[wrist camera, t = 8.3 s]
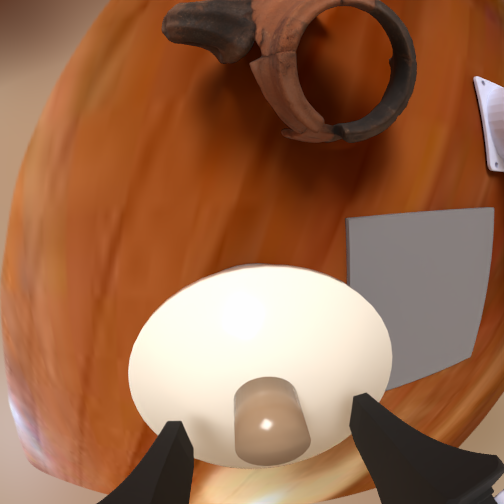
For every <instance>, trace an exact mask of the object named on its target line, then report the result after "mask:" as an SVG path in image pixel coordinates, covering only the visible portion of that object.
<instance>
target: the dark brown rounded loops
mask: <svg viewBox="0 0 504 504" xmlns="http://www.w3.org/2000/svg"><path fill="white" fill-rule="evenodd" d="M337 6H352V7H355V8H358V9H360V10H363V11H366V12H368V13H369V14H371V15H372V16H373V17H374V18H375V19H376V20H377V21H378V22H379V23H380V24H381V25H382V27H383V28H384V30H385V32H386V33H387V35H388V37H389V39H390V42H391V44H392V48H393V56H392V58H390V59H389V64H390V67H391V75H390V82H389V84H388V86H387V89H386V91H385V93H384V96H383V98H382V100H381V102H380V103H379V104H378V105H377V106H376V107H375V108H374V109H373V110H372V111H371V112H370V113H369V114H368V115H366V116H365V117H363V118H362V119H360V120H357V121H353V122H348V123H340V124H336V125H333V126H332V125H328V124H324V118H323V117H322V116H321V115H320V114H319V113H317V111H316V110H315V109H314V108H313V107H312V106H311V105H310V103H309V102H308V101H307V99H306V98H305V96H304V93H303V91H302V88H301V85H300V83H299V78H298V72H297V58H296V50H297V48H298V45H299V42H300V39H301V36H302V35H303V33H304V31H305V29H306V28H307V26H308V25H309V23H310V22H311V21H312V20H313V19H314V18H315V17H316V16H318V15H319V14H320V13H322V12H324V11H325V10H327V9H330V8H333V7H337ZM162 32H163V34H164V35H165V36H166V37H167V39H168V40H169V41H171V42H173V43H178V44H186V45H192V46H197V47H201V48H204V49H206V50H209V51H210V52H211V53H213V54H214V55H215V56H216V58H217V59H218V60H219V62H220V63H223V64H226V63H235V62H237V61H239V60H240V59H241V58H243V57H244V56H246V54H247V53H248V52H249V51H250V49H251V48H252V46H253V43H254V40H255V41H256V42H257V44H258V46H259V47H260V50H261V53H262V56H261V57H260V58H258V59H257V60H254V61H252V62H250V68H251V70H252V73H253V74H254V77H255V79H256V81H257V83H258V85H259V86H260V88H261V91H262V93H263V95H264V97H265V98H266V100H267V101H268V102H269V104H270V105H271V106H272V108H273V109H274V110H275V112H276V114H277V115H278V116H279V118H280V119H281V120H282V121H283V122H284V123H285V124H286V125H287V126H289V127H290V128H291V129H288V128H287V129H282V131H281V134H282V135H283V136H284V137H286V138H289V139H293V140H298V141H303V142H310V143H320V142H326V143H328V142H333V141H336V140H340V139H343V140H345V141H346V142H348V143H354V142H358V141H363V140H366V139H368V138H370V137H373V136H376V135H378V134H380V133H381V132H383V131H384V130H386V129H387V128H388V127H389V126H391V124H392V123H393V122H394V121H395V120H396V119H397V116H398V115H400V114H401V113H402V112H403V110H404V109H405V107H406V106H407V104H408V101H409V98H410V97H411V95H412V93H413V89H414V85H415V81H416V74H417V72H416V70H417V62H416V54H415V49H414V46H413V41H412V39H411V37H410V34H409V32H408V30H407V28H406V26H405V25H404V23H403V22H402V21H401V20H400V18H399V17H398V16H397V15H396V14H395V12H394V11H393V10H391V9H390V8H389V7H388V6H387V5H385V4H384V3H383V2H381V1H379V0H205V1H199V2H189V3H179V4H177V5H175V6H174V7H173V8H172V9H171V10H169V11H168V13H167V15H166V16H165V17H164V19H163V22H162Z"/></svg>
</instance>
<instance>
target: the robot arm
mask: <svg viewBox="0 0 504 504" xmlns="http://www.w3.org/2000/svg"><path fill="white" fill-rule="evenodd" d="M474 84H475V88H476V92H477V97H478V102H479V106H480V112H481V117H482V123H483V130H484V137H485V145H486V154H487V165H488V168H489V170H491V171H499V172H504V87H501V86H499V85H497V84H495V83H492V82H490V81H488V80H485V79H483V78H481V77H478V76H477V77H474ZM349 427H350V430H351V433H352V436H353V439H354V442H355V445H356V447H357V449H358V451H359V453H360V455H361V457H362V459H363V461H364V463H365V465H366V467H367V469H368V471H369V473H370V475H371V477H372V479H373V481H374V483H375V486H376V488H377V491H378V494H379V497H380V500H381V503H382V504H504V489H503V490H502V491H501V492H500V493H499V494H498V495H496V496H495V497H493V496H492V495H491V494H492V493H493V492H494V490H493V489H492V485H493V484H494V483H495V482H496V481H497V480H498V479H499V478H500V477H501V476H502V474H503V473H504V464H503V463H502V461H501V460H500V459H499V458H498V457H497V455H489V454H481V453H475V452H470V451H466V450H462V449H459V448H456V447H453V446H450V445H447V444H444V443H442V442H439V441H437V440H435V439H433V438H430V437H428V436H426V435H425V434H423V433H421V432H419V431H418V430H416V429H414V428H413V427H411V426H409V425H408V424H406V423H405V422H404V421H402V420H401V419H399V418H398V417H397V416H395V415H394V414H392V413H391V412H390V411H389V410H387V409H386V408H385V407H384V406H382V405H381V404H380V403H379V402H377V401H376V400H375V399H374V398H373V397H372V396H370V395H369V394H368V393H363V394H359V395H356V396H353V402H352V409H351V416H350V423H349ZM193 469H194V448H193V446H192V443H191V441H190V439H189V437H188V435H187V432H186V430H185V428H184V426H183V423H182V421H167V422H166V424H165V425H164V427H163V429H162V430H161V432H160V434H159V435H158V437H157V438H156V440H155V441H154V443H153V445H152V446H151V447H150V449H149V450H148V452H147V453H146V455H145V456H144V457H143V459H142V460H141V461H140V463H139V464H138V465H137V466H136V468H135V469H134V470H133V471H132V472H131V474H130V475H129V476H128V477H127V478H126V479H125V480H124V481H123V482H122V483H121V484H120V485H119V486H118V487H117V488H116V489H115V490H114V491H112V492H111V493H110V494H109V495H108V496H106V497H105V498H104V499H103V500H101V501H100V502H98V503H97V504H189V498H190V491H191V484H192V476H193Z"/></svg>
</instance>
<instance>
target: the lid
mask: <svg viewBox="0 0 504 504" xmlns="http://www.w3.org/2000/svg"><path fill="white" fill-rule="evenodd" d="M391 368H392V347H391V341H390V338H389V334H388V331H387V328H386V326H385V324H384V322H383V320H382V318H381V317H380V316H379V314H378V313H377V311H376V310H375V309H374V307H373V306H372V305H371V304H370V303H369V302H368V301H366V300H365V299H364V298H363V297H362V296H361V295H360V294H359V293H358V292H357V291H356V290H354V289H353V288H351V287H350V286H348V285H347V284H345V283H344V282H342V281H340V280H338V279H336V278H334V277H332V276H329V275H327V274H325V273H322V272H318V271H315V270H312V269H308V268H303V267H297V266H290V265H272V264H263V265H253V266H243V267H238V268H234V269H229V270H225V271H221V272H218V273H215V274H212V275H210V276H207V277H204V278H201V279H199V280H197V281H195V282H194V283H192V284H190V285H188V286H186V287H184V288H182V289H181V290H179V291H178V292H177V293H175V294H174V295H172V296H171V297H169V298H168V299H167V300H166V301H165V302H164V303H163V304H162V305H161V306H160V307H159V308H157V309H156V310H155V311H154V313H153V314H152V315H151V317H150V318H149V319H148V321H147V322H146V323H145V325H144V327H143V328H142V330H141V332H140V334H139V336H138V338H137V340H136V342H135V344H134V346H133V349H132V353H131V356H130V361H129V370H128V375H129V386H130V390H131V394H132V398H133V400H134V403H135V405H136V407H137V410H138V411H139V413H140V414H141V416H142V418H143V419H144V421H145V422H146V423H147V424H148V425H149V427H150V428H151V429H152V430H153V431H154V432H155V433H156V434H157V435H159V434H160V432H161V430H162V429H163V427H164V425H165V424H166V422H167V421H182V423H183V426H184V428H185V430H186V432H187V435H188V437H189V439H190V441H191V443H192V446H193V448H194V458H196V459H199V460H202V461H205V462H208V463H211V464H215V465H220V466H225V467H232V468H244V469H259V468H271V467H278V466H284V465H288V464H293V463H296V462H299V461H303V460H306V459H308V458H311V457H314V456H316V455H318V454H320V453H322V452H324V451H326V450H328V449H330V448H332V447H334V446H335V445H337V444H339V443H340V442H342V441H343V440H344V439H346V438H347V437H348V436H350V435H351V434H352V433H351V430H350V427H349V423H350V416H351V409H352V402H353V396H356V395H359V394H363V393H368V394H369V395H370V396H372V397H373V398H374V399H375V400H376V401H377V402H380V400H381V398H382V396H383V394H384V392H385V389H386V387H387V384H388V382H389V378H390V373H391Z"/></svg>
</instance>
